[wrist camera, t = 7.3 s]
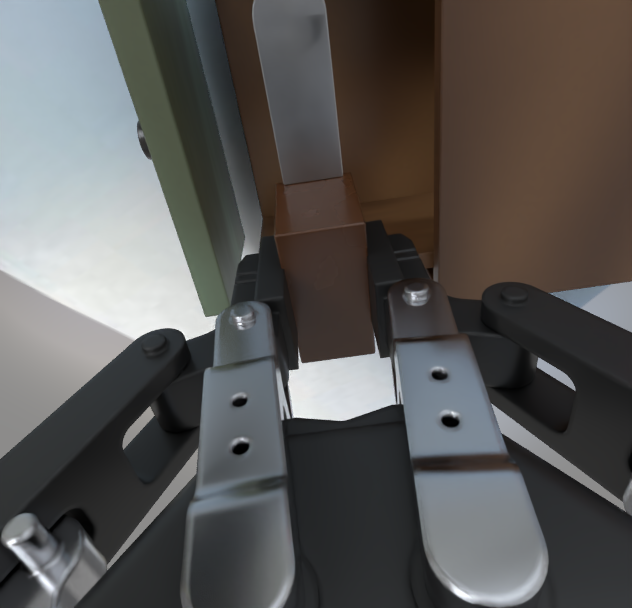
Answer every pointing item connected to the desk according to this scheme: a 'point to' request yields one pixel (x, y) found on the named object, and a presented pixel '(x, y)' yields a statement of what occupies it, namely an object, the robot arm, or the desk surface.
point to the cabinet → (532, 144)
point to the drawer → (204, 139)
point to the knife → (313, 184)
